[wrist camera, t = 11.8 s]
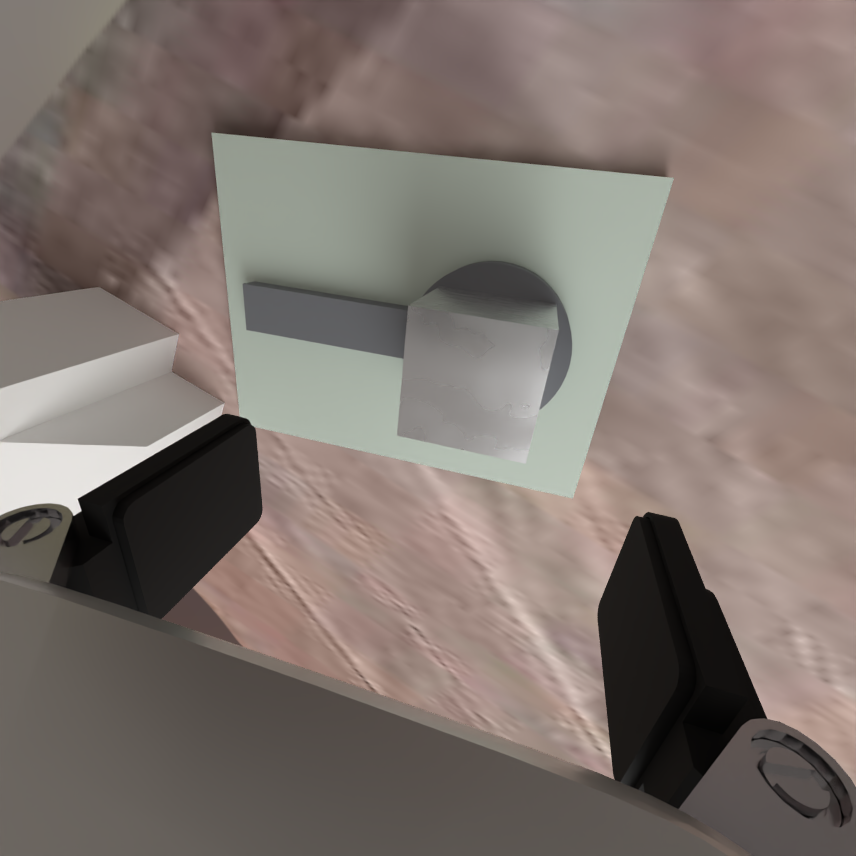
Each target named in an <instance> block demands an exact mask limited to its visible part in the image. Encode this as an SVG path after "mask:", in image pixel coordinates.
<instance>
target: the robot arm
mask: <svg viewBox="0 0 856 856" xmlns="http://www.w3.org/2000/svg"><path fill="white" fill-rule="evenodd" d="M78 502H79V505H80V508H81V512H79V513H77V514H76V515H74V516H73V513H72V512H71V510H70V509H69V508H68V507H66V506H63V505H61V504H52V503H46V504H35V505H30V506H25V507H21V508H18V509H15V510H12V511H9V512H6V513H4V514H2V515H0V856H856V787H855V785H854V783H853V782H852V780H851V778H850V777H849V776H848V775H847V774H846V772H845V771H844V770H843V769H842V768H841V766H840V765H839V764H838V763H837V762H836V761H835V759H833V758H832V757H831V756H830V755H829V754H828V753H827V752H826V751H825V750H824V749H822V748H821V747H820V746H819V745H818V744H817V743H815V742H814V741H813V740H811V739H810V738H808V737H807V736H805V735H804V734H802V733H801V732H799V731H798V730H796V729H794V728H791V727H789V726H787V725H785V724H783V723H781V722H778V721H773V720H769V719H767V717H766V715H765V712H764V710H763V708H762V705H761V703H760V701H759V698H758V696H757V693H756V691H755V689H754V686H753V684H752V682H751V679H750V677H749V674H748V672H747V670H746V667H745V665H744V662H743V660H742V658H741V655H740V653H739V651H738V648H737V646H736V643H735V641H734V639H733V636H732V634H731V632H730V629H729V627H728V624H727V622H726V620H725V617H724V615H723V613H722V610H721V608H720V605H719V603H718V601H717V599H716V597H715V595H714V594H713V593H712V592H711V591H709V590H707V589H705V586H704V584H703V581H702V579H701V576H700V574H699V571H698V569H697V566H696V564H695V561H694V559H693V556H692V554H691V551H690V549H689V546H688V544H687V541H686V539H685V536H684V534H683V531H682V529H681V526H680V524H679V522H678V520H677V519H675V518H672V517H668V516H663V515H659V514H655V513H650V512H647V513H646V514H645V515H644V516H643V517H639V516H636V517H635V518H634V520H633V522H632V524H631V527H630V529H629V531H628V534H627V536H626V539H625V541H624V544H623V546H622V549H621V551H620V554H619V556H618V559H617V561H616V563H615V566H614V568H613V571H612V573H611V576H610V578H609V581H608V583H607V586H606V588H605V591H604V593H603V596H602V598H601V600H600V603H599V608H598V627H599V637H600V647H601V657H602V667H603V677H604V687H605V697H606V707H607V717H608V727H609V737H610V747H611V757H612V767H613V774H614V779H615V780H614V779H611V778H609V777H606V776H604V775H602V774H599V773H597V772H594V771H592V770H589V769H586V768H584V767H581V766H578V765H575V764H573V763H570V762H567V761H565V760H562V759H559V758H557V757H554V756H551V755H548V754H546V753H543V752H540V751H538V750H535V749H532V748H530V747H527V746H524V745H521V744H519V743H516V742H513V741H511V740H508V739H505V738H503V737H500V736H497V735H494V734H491V733H488V732H486V731H483V730H480V729H477V728H474V727H471V726H468V725H466V724H463V723H460V722H457V721H454V720H451V719H449V718H446V717H443V716H440V715H437V714H434V713H432V712H429V711H426V710H423V709H420V708H417V707H414V706H412V705H409V704H406V703H403V702H400V701H397V700H395V699H392V698H389V697H386V696H383V695H380V694H377V693H375V692H372V691H369V690H366V689H363V688H360V687H357V686H355V685H352V684H349V683H346V682H343V681H340V680H337V679H334V678H331V677H329V676H326V675H323V674H320V673H317V672H314V671H311V670H308V669H305V668H303V667H300V666H297V665H294V664H291V663H288V662H285V661H282V660H279V659H276V658H274V657H271V656H268V655H265V654H262V653H259V652H256V651H253V650H250V649H247V648H244V647H242V646H238V645H236V644H233V643H230V642H227V641H224V640H221V639H218V638H215V637H212V636H209V635H206V634H203V633H201V632H197V631H195V630H192V629H188V628H186V627H183V626H180V625H177V624H174V623H171V622H167V621H165V620H162V618H163V617H164V616H165V615H166V614H167V613H168V612H169V611H170V610H171V609H172V608H173V607H174V606H175V605H176V604H177V603H178V602H179V601H180V600H181V599H182V598H183V597H184V596H185V595H186V594H187V593H188V592H189V591H190V590H191V589H192V588H193V587H194V586H195V585H196V584H197V583H198V582H199V581H200V580H201V579H202V578H203V577H204V576H205V575H206V574H207V573H208V572H209V571H210V570H211V569H212V568H213V567H214V566H215V565H216V564H217V563H218V562H219V561H220V560H221V559H222V558H223V557H224V556H225V555H226V554H227V553H228V552H229V551H230V550H231V549H232V548H233V547H234V546H235V545H236V544H237V543H238V542H239V541H240V540H241V539H242V538H243V537H244V536H245V535H246V534H247V533H248V531H249V530H250V529H251V528H252V527H253V526H254V525H255V524H256V523H257V522H258V521H259V519H260V517H261V515H262V497H261V485H260V474H259V462H258V450H257V439H256V430H255V428H254V426H252V425H251V422H250V421H249V420H248V419H247V418H243V417H239V416H234V415H230V414H224V415H221V416H219V417H218V418H216V419H214V420H213V421H211V422H209V423H207V424H206V425H204V426H202V427H201V428H199V429H197V430H195V431H194V432H192V433H190V434H188V435H187V436H185V437H183V438H182V439H180V440H178V441H176V442H175V443H173V444H171V445H169V446H168V447H166V448H164V449H163V450H161V451H159V452H157V453H156V454H154V455H152V456H151V457H149V458H147V459H145V460H144V461H142V462H140V463H138V464H137V465H135V466H133V467H132V468H130V469H128V470H126V471H125V472H123V473H121V474H120V475H118V476H116V477H114V478H113V479H111V480H109V481H107V482H106V483H104V484H102V485H101V486H99V487H97V488H95V489H94V490H92V491H90V492H88V493H87V494H85V495H83V496H82V497H80V498H78Z"/></svg>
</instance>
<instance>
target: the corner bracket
mask: <svg viewBox="0 0 856 856" xmlns="http://www.w3.org/2000/svg"><path fill="white" fill-rule="evenodd" d="M178 337H179V334H178V333H177V332H175V331H173V330H171V329H170V328H168V327H166V326H165V325H163V324H161V323H160V322H158V321H156V320H154V319H153V318H151V317H149V316H148V315H146V314H144V313H143V312H141V311H139V310H138V309H136V308H134V307H132V306H131V305H129V304H127V303H126V302H124V301H122V300H121V299H119V298H117V297H115V296H114V295H112V294H110V293H109V292H107V291H105V290H104V289H102V288H100V287H95V288H88V289H81V290H74V291H67V292H61V293H54V294H47V295H40V296H33V297H26V298H20V299H13V300H6V301H0V515H2V514H4V513H6V512H9V511H12V510H15V509H18V508H21V507H25V506H30V505H35V504H46V503H52V504H61V505H63V506H66V507H68V508H69V509H70V510H71V512H72V513H73V516H74V515H76V514H77V513H79V512H81V508H80V505H79V502H78V498H80V497H82V496H83V495H85V494H87V493H88V492H90V491H92V490H94V489H95V488H97V487H99V486H101V485H102V484H104V483H106V482H107V481H109V480H111V479H113V478H114V477H116V476H118V475H120V474H121V473H123V472H125V471H126V470H128V469H130V468H132V467H133V466H135V465H137V464H138V463H140V462H142V461H144V460H145V459H147V458H149V457H151V456H152V455H154V454H156V453H157V452H159V451H161V450H163V449H164V448H166V447H168V446H169V445H171V444H173V443H175V442H176V441H178V440H180V439H182V438H183V437H185V436H187V435H188V434H190V433H192V432H194V431H195V430H197V429H199V428H201V427H202V426H204V425H206V424H207V423H209V422H211V421H213V420H214V419H216V418H218V417H219V416H221V414H222V411H223V407H224V404H225V403H224V402H222V401H221V400H219V399H217V398H215V397H214V396H212V395H210V394H209V393H207V392H205V391H204V390H202V389H200V388H198V387H197V386H195V385H193V384H192V383H190V382H188V381H187V380H185V379H183V378H181V377H180V376H178V375H176V374H175V373H173V372H172V367H173V362H174V357H175V352H176V347H177V342H178Z"/></svg>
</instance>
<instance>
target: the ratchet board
mask: <svg viewBox="0 0 856 856" xmlns="http://www.w3.org/2000/svg"><path fill="white" fill-rule="evenodd" d="M212 142H213V152H214V162H215V172H216V182H217V192H218V202H219V212H220V222H221V232H222V242H223V252H224V262H225V272H226V282H227V292H228V302H229V312H230V322H231V332H232V342H233V352H234V362H235V372H236V382H237V393H238V403H239V413H240V417H243V418H247V419H248V420H249V421H250V422H251V425H252V426H254V427H257V428H262V429H266V430H271V431H275V432H280V433H284V434H288V435H293V436H297V437H302V438H306V439H311V440H315V441H320V442H324V443H328V444H333V445H337V446H342V447H346V448H351V449H355V450H360V451H364V452H368V453H373V454H377V455H382V456H386V457H391V458H395V459H400V460H404V461H408V462H413V463H417V464H422V465H426V466H431V467H435V468H440V469H444V470H448V471H453V472H457V473H462V474H466V475H471V476H475V477H480V478H484V479H488V480H493V481H497V482H502V483H506V484H511V485H515V486H520V487H524V488H528V489H533V490H537V491H542V492H546V493H551V494H555V495H560V496H564V497H568V498H573V496H574V493H575V490H576V487H577V483H578V480H579V477H580V474H581V471H582V468H583V464H584V461H585V458H586V455H587V452H588V449H589V445H590V442H591V439H592V436H593V433H594V430H595V426H596V423H597V420H598V417H599V414H600V411H601V407H602V404H603V401H604V398H605V395H606V392H607V388H608V385H609V382H610V379H611V376H612V373H613V369H614V366H615V363H616V360H617V357H618V354H619V350H620V347H621V344H622V341H623V338H624V335H625V331H626V328H627V325H628V322H629V319H630V316H631V312H632V309H633V306H634V303H635V300H636V297H637V293H638V290H639V287H640V284H641V281H642V278H643V274H644V271H645V268H646V265H647V262H648V259H649V255H650V252H651V249H652V246H653V243H654V239H655V236H656V233H657V230H658V227H659V224H660V220H661V217H662V214H663V211H664V208H665V205H666V201H667V198H668V195H669V192H670V189H671V186H672V182H673V179H674V178H669V177H658V176H648V175H638V174H628V173H618V172H607V171H597V170H587V169H577V168H567V167H556V166H546V165H536V164H526V163H516V162H505V161H495V160H485V159H475V158H465V157H454V156H444V155H434V154H424V153H413V152H403V151H393V150H383V149H373V148H362V147H352V146H342V145H332V144H322V143H311V142H301V141H291V140H281V139H271V138H260V137H250V136H240V135H230V134H220V133H212ZM440 286H443V287H450V288H456V289H463V290H469V291H476V292H482V293H489V294H495V295H502V296H508V297H515V298H521V299H528V300H534V301H541V302H547V303H554V304H556V306H557V316H558V326H559V332H558V336H557V340H556V344H555V348H554V352H553V356H552V360H551V364H550V368H549V372H548V376H547V380H546V384H545V388H544V392H543V396H542V400H541V404H540V408H539V412H538V416H537V420H536V425H535V429H534V433H533V437H532V441H531V445H530V449H529V453H528V457H527V461H526V464H524V463H520V462H515V461H511V460H506V459H501V458H497V457H492V456H488V455H483V454H478V453H474V452H469V451H465V450H460V449H456V448H451V447H446V446H442V445H437V444H433V443H428V442H423V441H419V440H414V439H410V438H405V437H400V436H397V428H398V417H399V405H400V394H401V382H402V371H403V359H404V348H405V336H406V325H407V313H408V305H410V304H411V303H413V302H415V301H416V300H418V299H420V298H421V297H423V296H425V295H426V294H428V293H430V292H431V291H433V290H435V289H436V288H438V287H440Z"/></svg>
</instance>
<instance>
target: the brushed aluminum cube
mask: <svg viewBox="0 0 856 856" xmlns="http://www.w3.org/2000/svg"><path fill="white" fill-rule="evenodd" d="M558 332H559V326H558V316H557V306H556V304H554V303H547V302H541V301H534V300H528V299H521V298H515V297H508V296H502V295H495V294H489V293H482V292H476V291H469V290H463V289H456V288H450V287H443V286H440V287H438V288H436V289H435V290H433V291H431V292H430V293H428V294H426V295H425V296H423V297H421V298H420V299H418V300H416V301H415V302H413V303H411V304H410V305H408V313H407V325H406V336H405V348H404V359H403V371H402V382H401V394H400V405H399V417H398V428H397V436H400V437H405V438H410V439H414V440H419V441H423V442H428V443H433V444H437V445H442V446H446V447H451V448H456V449H460V450H465V451H469V452H474V453H478V454H483V455H488V456H492V457H497V458H501V459H506V460H511V461H515V462H520V463H524V464H526V461H527V457H528V453H529V449H530V445H531V441H532V437H533V433H534V429H535V425H536V420H537V416H538V412H539V408H540V404H541V400H542V396H543V392H544V388H545V384H546V380H547V376H548V372H549V368H550V364H551V360H552V356H553V352H554V348H555V344H556V340H557V336H558Z"/></svg>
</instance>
